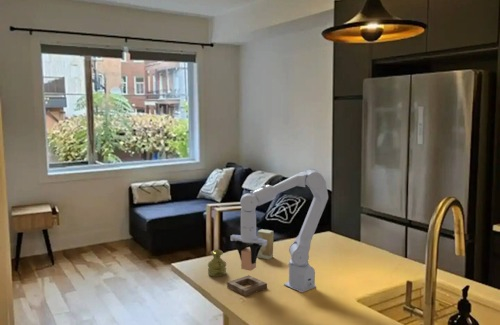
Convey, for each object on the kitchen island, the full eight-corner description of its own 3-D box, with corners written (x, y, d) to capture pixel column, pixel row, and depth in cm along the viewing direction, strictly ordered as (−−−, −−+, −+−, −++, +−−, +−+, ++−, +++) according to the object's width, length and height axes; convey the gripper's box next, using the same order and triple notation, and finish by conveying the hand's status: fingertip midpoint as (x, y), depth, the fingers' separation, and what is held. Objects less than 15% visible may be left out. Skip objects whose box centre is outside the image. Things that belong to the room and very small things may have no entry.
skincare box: (256, 257, 197) (256, 231, 196) (260, 254, 201) (260, 228, 200) (269, 259, 195) (269, 232, 193) (273, 257, 198) (273, 230, 197)
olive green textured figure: (218, 278, 173) (217, 253, 172) (204, 274, 178) (203, 250, 177) (230, 272, 179) (229, 249, 178) (216, 269, 184) (215, 245, 182)
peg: (256, 267, 166) (255, 249, 165) (250, 270, 162) (250, 252, 161) (246, 265, 168) (246, 247, 167) (241, 268, 164) (241, 250, 163)
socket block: (267, 288, 163) (267, 283, 163) (245, 296, 157) (245, 290, 156) (248, 280, 171) (248, 275, 171) (227, 287, 165) (227, 282, 164)
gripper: (270, 226, 163) (270, 261, 164) (237, 221, 170) (237, 255, 172) (262, 230, 157) (261, 267, 158) (227, 225, 164) (227, 261, 165)
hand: (248, 261), depth 165 cm, fingers closed on peg, 4 cm apart
